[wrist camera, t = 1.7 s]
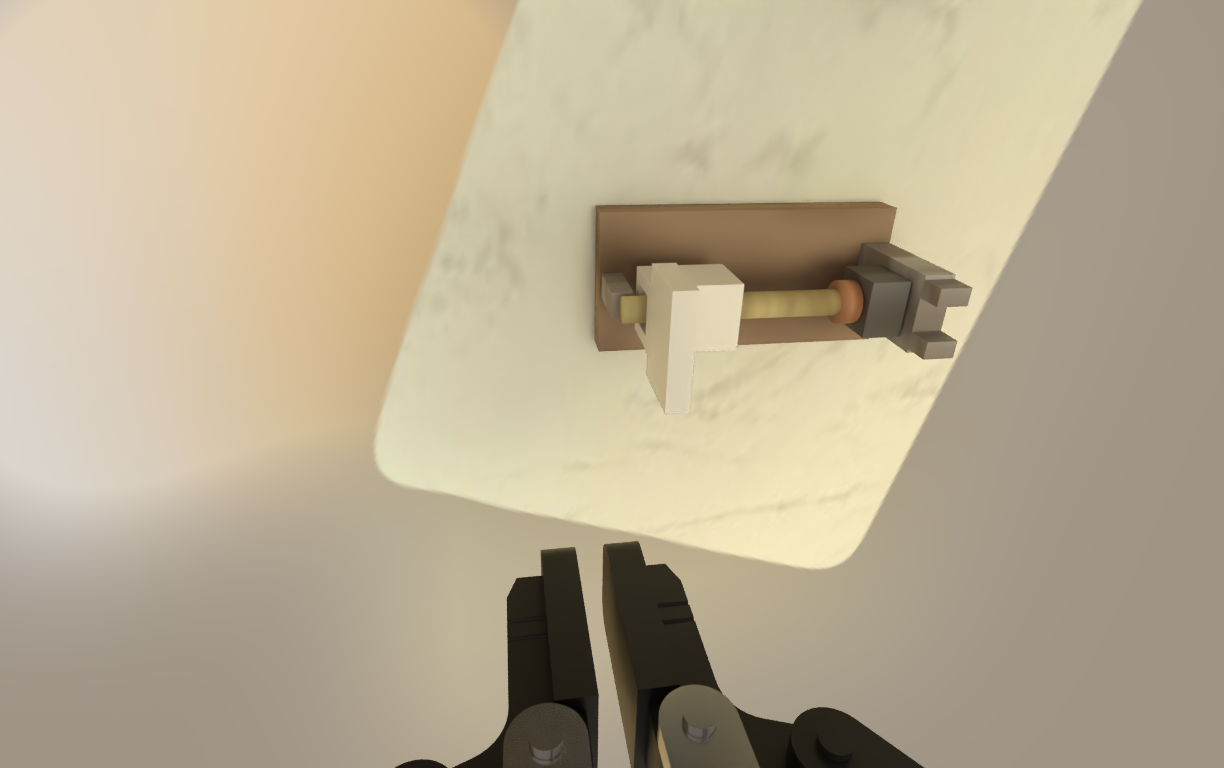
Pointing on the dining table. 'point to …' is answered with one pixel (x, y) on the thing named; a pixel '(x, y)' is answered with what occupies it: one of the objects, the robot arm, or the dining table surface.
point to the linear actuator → (780, 272)
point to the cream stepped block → (685, 323)
